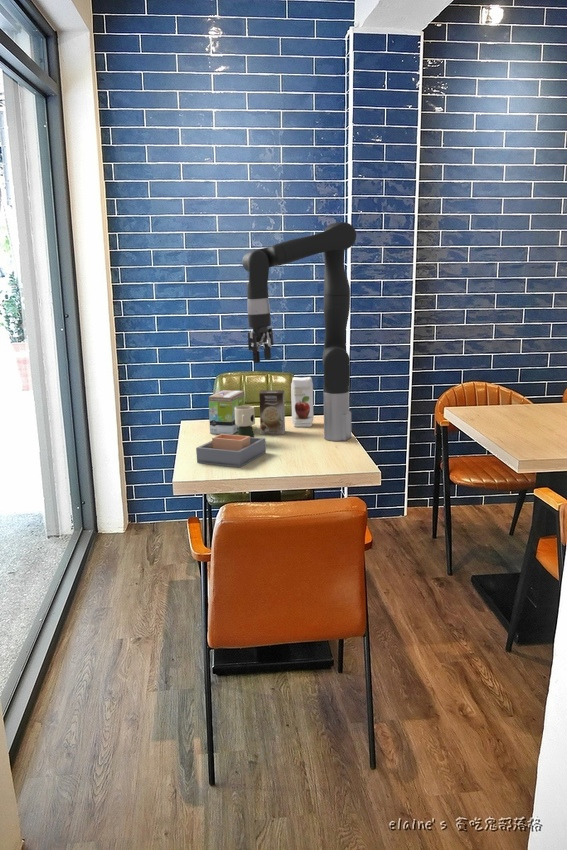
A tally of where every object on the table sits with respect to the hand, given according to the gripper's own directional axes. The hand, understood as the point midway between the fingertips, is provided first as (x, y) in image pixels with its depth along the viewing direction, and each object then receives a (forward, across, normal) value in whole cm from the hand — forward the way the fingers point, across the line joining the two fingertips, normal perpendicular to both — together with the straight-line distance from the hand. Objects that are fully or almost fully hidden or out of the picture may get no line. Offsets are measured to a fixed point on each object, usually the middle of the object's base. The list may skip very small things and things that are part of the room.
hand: (262, 360), depth 221 cm
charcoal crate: (+30, -15, +6) cm, 34 cm away
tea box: (+30, +20, +27) cm, 45 cm away
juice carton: (+31, +35, +2) cm, 47 cm away
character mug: (+30, +4, +11) cm, 33 cm away
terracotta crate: (+29, -15, +6) cm, 33 cm away
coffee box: (+31, +20, +8) cm, 38 cm away
